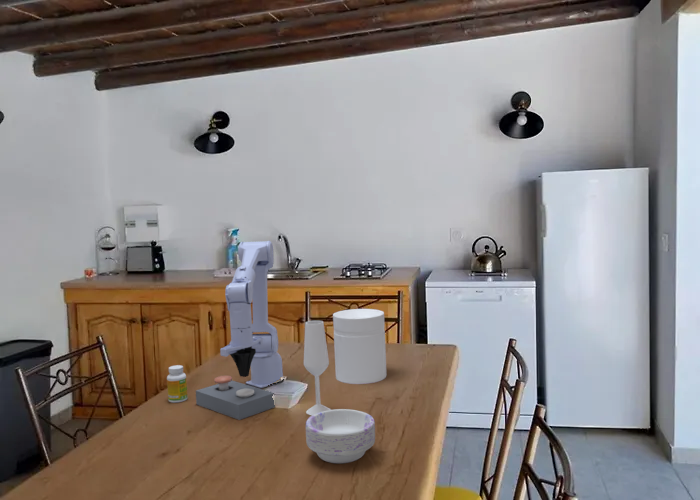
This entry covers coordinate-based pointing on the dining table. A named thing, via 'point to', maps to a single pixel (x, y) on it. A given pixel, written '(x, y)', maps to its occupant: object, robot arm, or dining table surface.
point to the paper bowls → (340, 434)
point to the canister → (359, 346)
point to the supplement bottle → (177, 384)
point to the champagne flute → (315, 358)
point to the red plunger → (223, 382)
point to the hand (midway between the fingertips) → (244, 376)
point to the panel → (234, 400)
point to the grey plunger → (244, 393)
